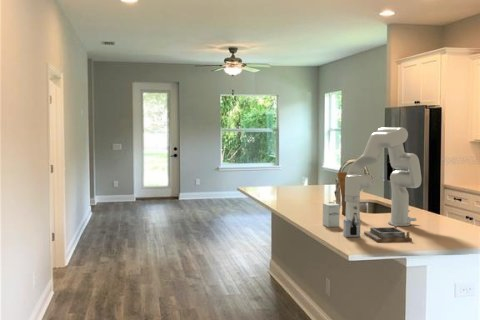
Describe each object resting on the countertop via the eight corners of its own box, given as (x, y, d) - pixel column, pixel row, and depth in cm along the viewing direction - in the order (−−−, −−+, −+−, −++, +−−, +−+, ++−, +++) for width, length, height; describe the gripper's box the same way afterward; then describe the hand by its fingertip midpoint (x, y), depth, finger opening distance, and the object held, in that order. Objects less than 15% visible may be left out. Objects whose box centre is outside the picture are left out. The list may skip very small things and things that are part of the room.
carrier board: (396, 233, 260) (396, 225, 260) (411, 241, 242) (412, 232, 242) (363, 234, 258) (364, 225, 258) (376, 242, 240) (376, 233, 240)
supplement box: (327, 227, 276) (328, 205, 276) (322, 224, 284) (322, 203, 283) (339, 226, 278) (340, 204, 278) (333, 224, 286) (334, 202, 285)
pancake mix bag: (349, 218, 305) (350, 173, 303) (335, 213, 323) (336, 170, 321) (359, 217, 306) (359, 173, 305) (345, 212, 325) (345, 170, 323)
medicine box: (358, 235, 256) (358, 218, 255) (360, 237, 251) (360, 220, 251) (343, 235, 256) (343, 219, 255) (345, 237, 251) (345, 220, 251)
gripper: (365, 201, 244) (364, 237, 245) (353, 196, 261) (353, 230, 262) (350, 201, 243) (349, 237, 245) (340, 196, 260) (339, 230, 261)
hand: (351, 233), depth 253 cm, fingers closed on medicine box, 4 cm apart
